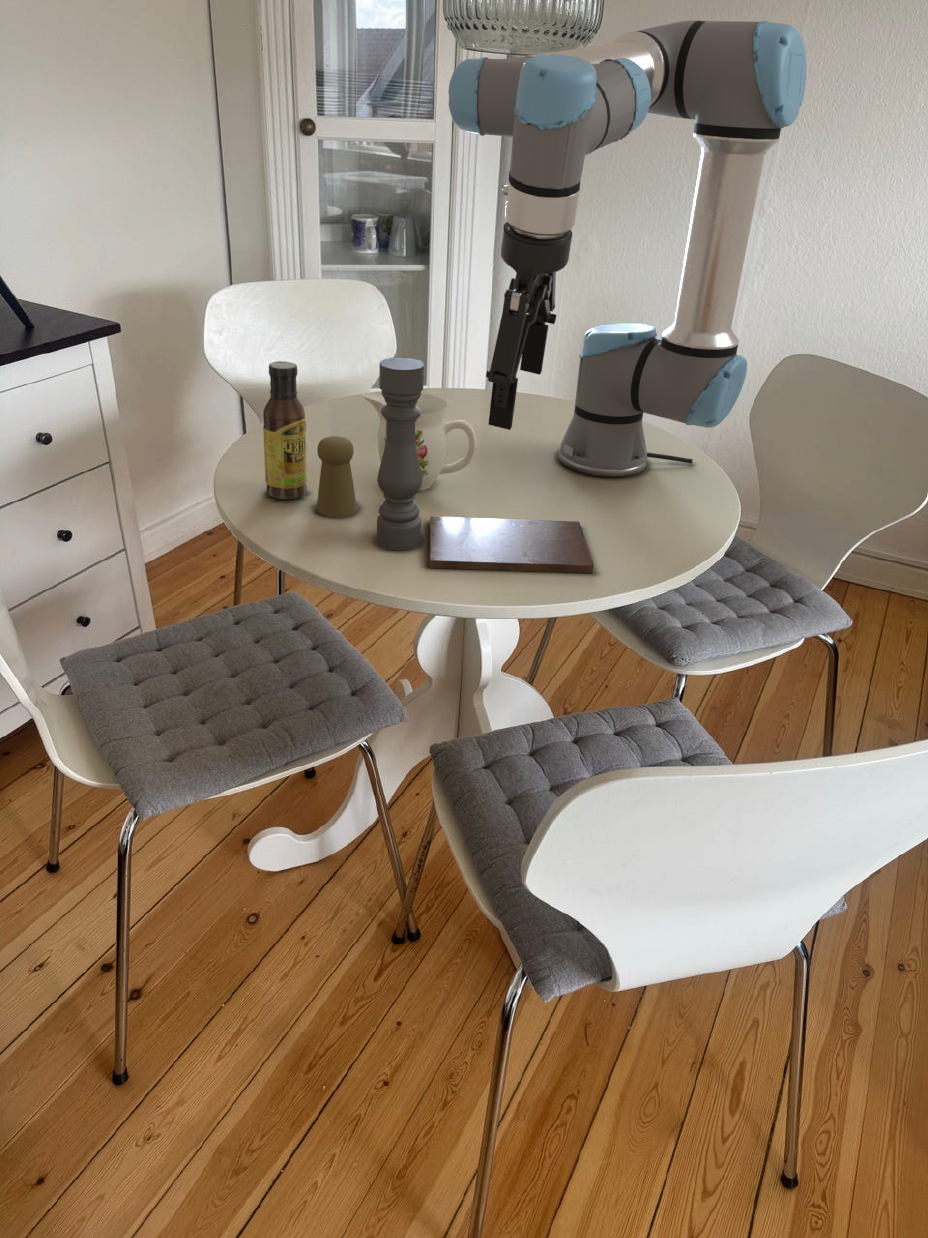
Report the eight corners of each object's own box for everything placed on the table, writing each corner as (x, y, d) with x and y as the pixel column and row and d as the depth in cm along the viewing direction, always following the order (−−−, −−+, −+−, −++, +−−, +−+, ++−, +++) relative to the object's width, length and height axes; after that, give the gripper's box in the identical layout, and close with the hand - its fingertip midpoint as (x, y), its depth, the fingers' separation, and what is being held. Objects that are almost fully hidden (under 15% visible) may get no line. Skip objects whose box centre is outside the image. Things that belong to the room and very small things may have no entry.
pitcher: (469, 502, 141) (474, 416, 134) (355, 491, 143) (354, 405, 136) (477, 476, 151) (482, 394, 144) (370, 465, 152) (370, 384, 145)
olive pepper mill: (335, 521, 133) (333, 449, 127) (307, 508, 136) (305, 437, 131) (365, 509, 137) (365, 439, 132) (337, 497, 140) (336, 428, 135)
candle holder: (407, 528, 132) (410, 354, 120) (428, 545, 128) (435, 367, 115) (369, 536, 129) (368, 359, 116) (389, 554, 125) (392, 372, 112)
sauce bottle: (290, 505, 137) (283, 373, 127) (257, 495, 139) (248, 365, 129) (316, 491, 142) (312, 363, 132) (284, 482, 144) (278, 356, 134)
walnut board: (578, 528, 135) (579, 521, 135) (592, 573, 123) (593, 565, 123) (430, 523, 134) (430, 516, 133) (429, 568, 122) (430, 560, 121)
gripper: (535, 179, 107) (515, 344, 122) (468, 263, 90) (454, 443, 105) (597, 191, 106) (569, 356, 121) (541, 279, 89) (517, 459, 104)
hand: (516, 397), depth 113 cm, fingers open, 13 cm apart
